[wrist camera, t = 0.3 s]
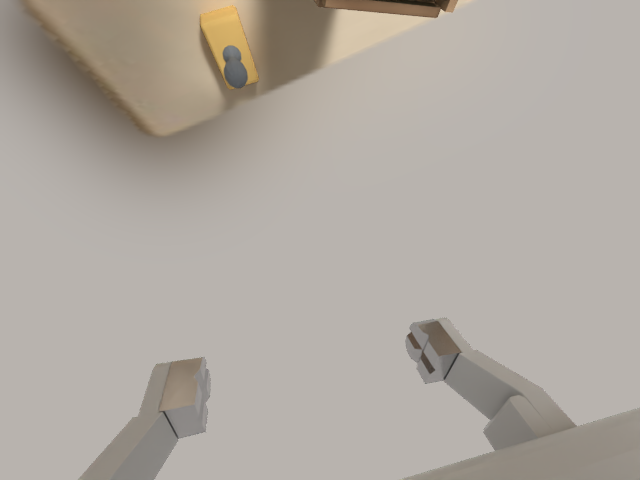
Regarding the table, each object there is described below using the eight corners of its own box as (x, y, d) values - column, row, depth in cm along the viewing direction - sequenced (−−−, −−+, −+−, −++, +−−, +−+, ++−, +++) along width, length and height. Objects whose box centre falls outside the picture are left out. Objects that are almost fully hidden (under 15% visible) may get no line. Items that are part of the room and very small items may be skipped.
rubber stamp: (198, 14, 41) (201, 49, 34) (234, 4, 41) (243, 36, 35) (227, 80, 49) (233, 117, 43) (256, 71, 49) (267, 107, 43)
